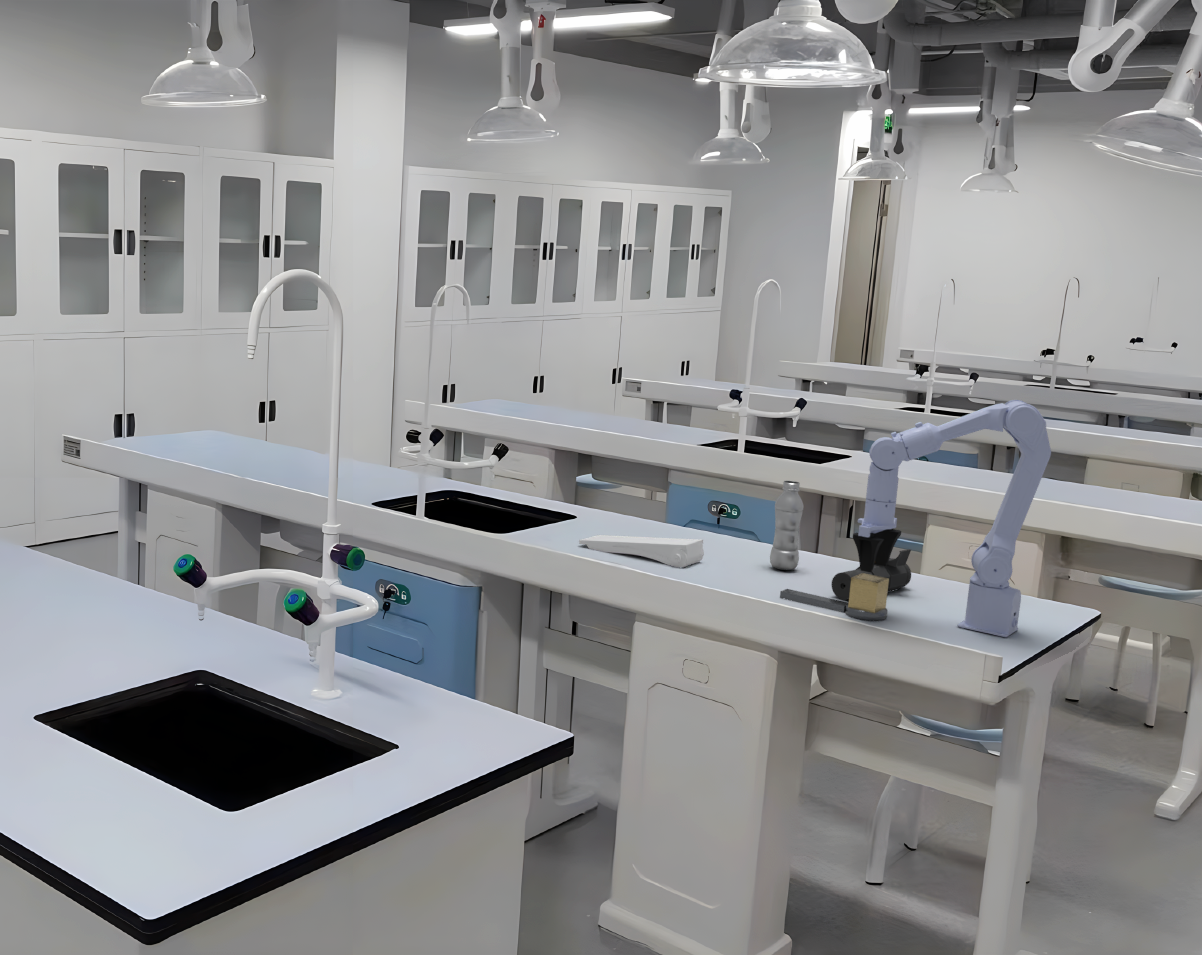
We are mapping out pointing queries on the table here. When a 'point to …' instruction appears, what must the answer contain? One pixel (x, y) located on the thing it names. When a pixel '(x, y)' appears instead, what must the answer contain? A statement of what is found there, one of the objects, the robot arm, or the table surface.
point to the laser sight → (893, 571)
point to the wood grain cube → (868, 593)
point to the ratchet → (833, 605)
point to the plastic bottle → (787, 527)
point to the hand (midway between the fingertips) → (873, 568)
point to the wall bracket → (650, 548)
